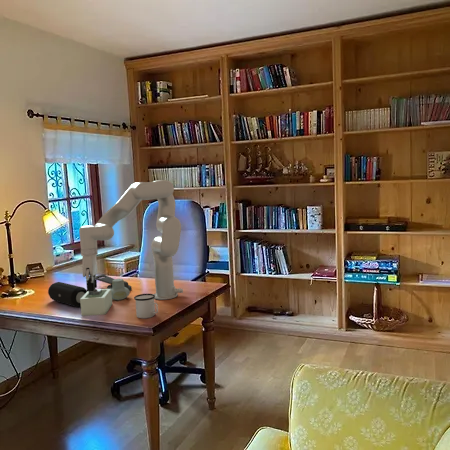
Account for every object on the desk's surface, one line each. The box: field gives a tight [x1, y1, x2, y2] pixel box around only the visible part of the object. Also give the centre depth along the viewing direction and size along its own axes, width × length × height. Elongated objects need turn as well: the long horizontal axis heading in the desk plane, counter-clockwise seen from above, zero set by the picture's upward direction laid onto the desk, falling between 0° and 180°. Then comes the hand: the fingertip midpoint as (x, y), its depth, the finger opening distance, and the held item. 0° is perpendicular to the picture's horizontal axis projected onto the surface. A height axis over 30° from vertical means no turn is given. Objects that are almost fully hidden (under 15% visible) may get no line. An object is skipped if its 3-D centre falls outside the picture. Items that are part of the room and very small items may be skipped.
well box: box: [80, 288, 113, 317], centre depth 227 cm, size 11×16×8 cm
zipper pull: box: [95, 273, 133, 292], centre depth 266 cm, size 9×7×25 cm
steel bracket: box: [89, 276, 103, 295], centre depth 226 cm, size 5×5×8 cm
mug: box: [133, 293, 159, 319], centre depth 214 cm, size 12×10×9 cm
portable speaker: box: [47, 281, 87, 308], centre depth 241 cm, size 26×10×10 cm, turn 49°
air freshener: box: [111, 278, 131, 301], centre depth 245 cm, size 11×8×10 cm
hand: (92, 289), depth 226 cm, fingers closed on steel bracket, 5 cm apart
